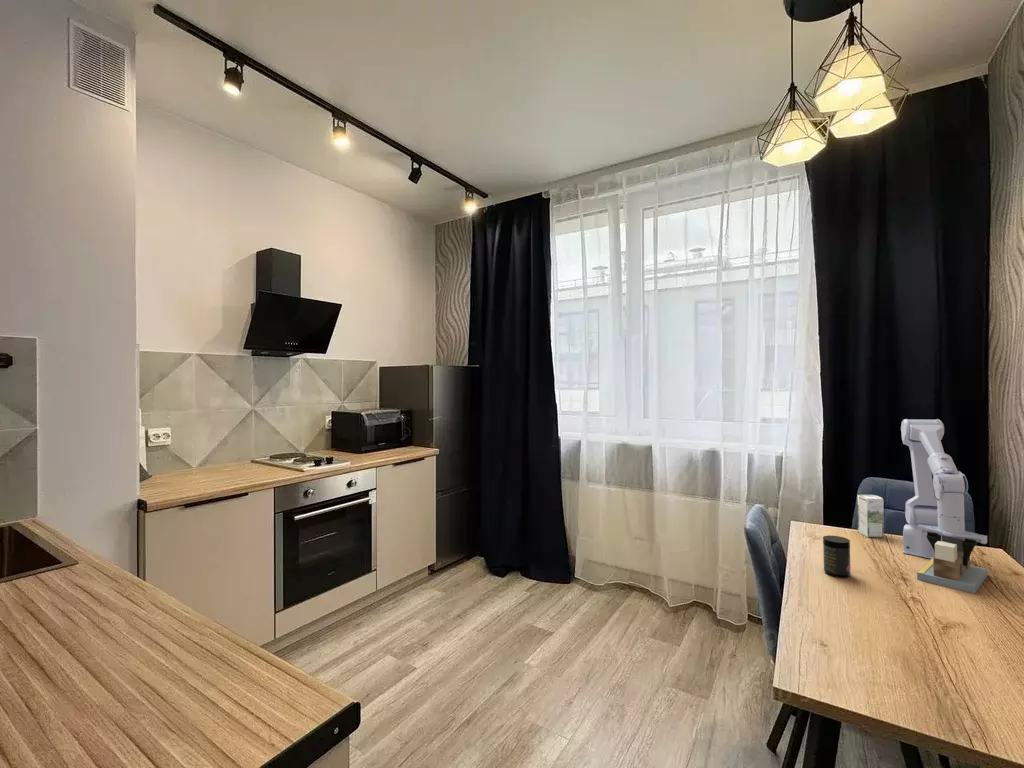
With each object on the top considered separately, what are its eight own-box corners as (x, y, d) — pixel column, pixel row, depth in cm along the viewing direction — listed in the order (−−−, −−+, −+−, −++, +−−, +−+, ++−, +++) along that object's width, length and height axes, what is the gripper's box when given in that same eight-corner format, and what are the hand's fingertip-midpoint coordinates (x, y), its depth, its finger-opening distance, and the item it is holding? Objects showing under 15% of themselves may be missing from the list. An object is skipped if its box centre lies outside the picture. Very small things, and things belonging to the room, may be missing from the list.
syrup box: (873, 532, 177) (872, 494, 177) (884, 537, 171) (883, 497, 171) (857, 532, 178) (856, 494, 178) (867, 537, 172) (866, 497, 172)
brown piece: (933, 575, 134) (933, 557, 134) (947, 561, 143) (946, 544, 143) (957, 581, 130) (957, 562, 130) (970, 566, 140) (969, 549, 140)
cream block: (934, 558, 134) (934, 544, 134) (938, 554, 136) (938, 540, 136) (954, 562, 130) (953, 547, 130) (957, 558, 133) (956, 544, 133)
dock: (917, 579, 136) (916, 572, 136) (933, 563, 147) (933, 556, 147) (974, 593, 126) (974, 585, 126) (987, 575, 137) (987, 568, 137)
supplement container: (848, 580, 137) (847, 544, 137) (820, 574, 142) (819, 539, 142) (853, 573, 141) (852, 538, 141) (826, 567, 146) (825, 533, 146)
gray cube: (945, 548, 141) (944, 534, 141) (948, 545, 143) (947, 531, 143) (963, 551, 138) (963, 538, 138) (966, 548, 140) (965, 535, 140)
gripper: (914, 512, 140) (915, 558, 140) (983, 523, 129) (984, 573, 129) (921, 508, 144) (922, 553, 144) (988, 518, 133) (989, 566, 133)
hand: (952, 562), depth 137 cm, fingers open, 5 cm apart
